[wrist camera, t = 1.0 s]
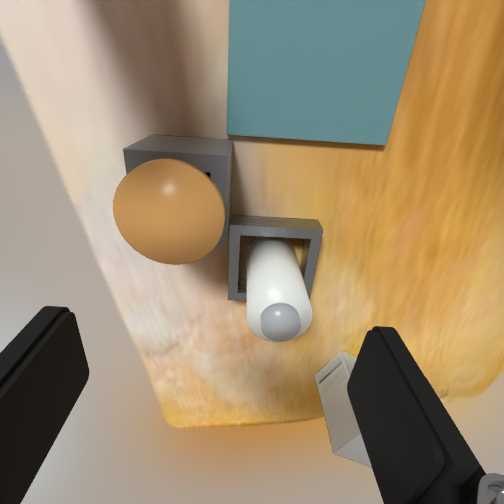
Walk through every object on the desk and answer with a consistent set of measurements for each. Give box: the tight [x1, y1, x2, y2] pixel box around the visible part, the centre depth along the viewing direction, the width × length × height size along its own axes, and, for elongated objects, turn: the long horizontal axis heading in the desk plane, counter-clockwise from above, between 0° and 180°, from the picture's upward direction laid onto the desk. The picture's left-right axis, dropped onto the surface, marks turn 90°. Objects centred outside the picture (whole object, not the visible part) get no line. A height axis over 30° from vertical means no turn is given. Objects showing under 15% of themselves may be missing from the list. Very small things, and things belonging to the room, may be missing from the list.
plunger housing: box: [123, 135, 233, 247], centre depth 24 cm, size 7×7×7 cm
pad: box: [227, 0, 426, 145], centre depth 23 cm, size 14×12×1 cm
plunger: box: [113, 159, 225, 265], centre depth 21 cm, size 7×7×5 cm
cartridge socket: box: [228, 215, 323, 301], centre depth 31 cm, size 9×9×2 cm
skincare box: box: [314, 351, 372, 468], centre depth 37 cm, size 10×6×10 cm, turn 58°
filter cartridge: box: [247, 236, 313, 342], centre depth 27 cm, size 5×5×11 cm
